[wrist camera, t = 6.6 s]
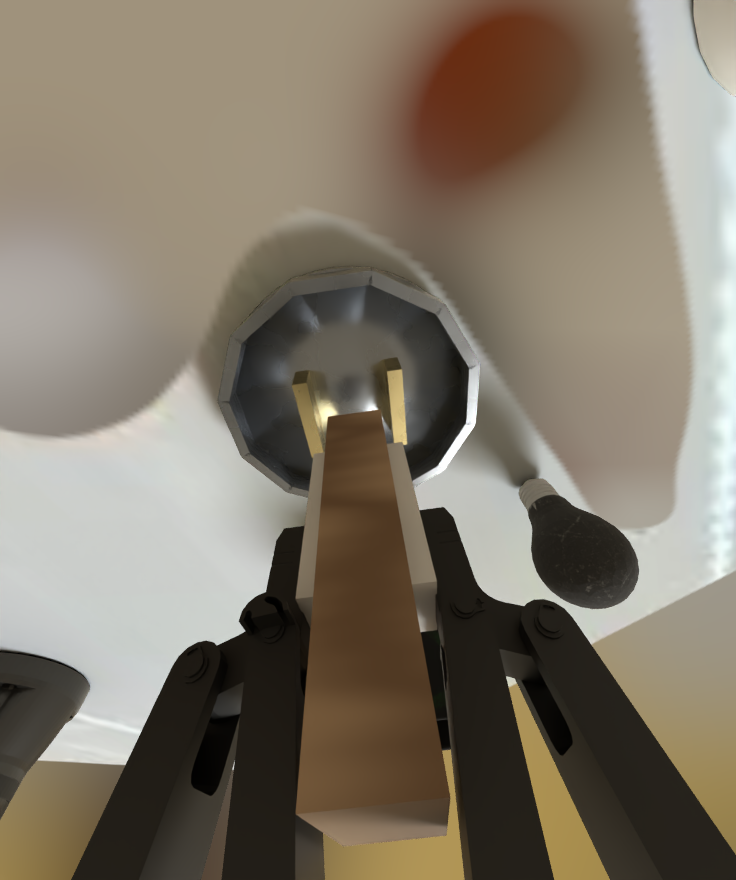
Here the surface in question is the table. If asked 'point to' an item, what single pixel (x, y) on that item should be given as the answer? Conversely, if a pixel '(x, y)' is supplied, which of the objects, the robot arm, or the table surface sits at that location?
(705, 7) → the cup
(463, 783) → the robot arm
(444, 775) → the tapered wood plank
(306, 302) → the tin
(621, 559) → the light bulb
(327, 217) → the table surface
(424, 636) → the cup
